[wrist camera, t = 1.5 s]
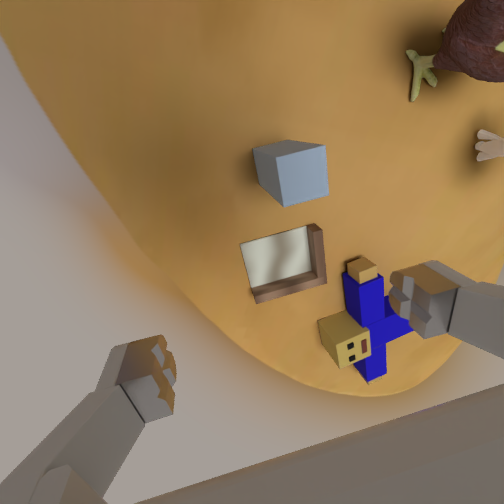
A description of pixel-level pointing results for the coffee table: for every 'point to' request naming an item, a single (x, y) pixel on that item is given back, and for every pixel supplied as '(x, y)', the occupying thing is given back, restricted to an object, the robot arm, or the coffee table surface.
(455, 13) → the figurine
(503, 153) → the figurine
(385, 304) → the toy
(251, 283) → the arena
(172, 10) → the coffee table surface
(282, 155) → the block
